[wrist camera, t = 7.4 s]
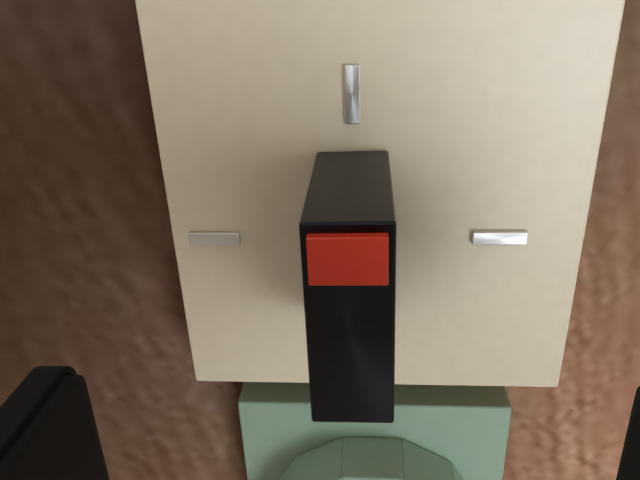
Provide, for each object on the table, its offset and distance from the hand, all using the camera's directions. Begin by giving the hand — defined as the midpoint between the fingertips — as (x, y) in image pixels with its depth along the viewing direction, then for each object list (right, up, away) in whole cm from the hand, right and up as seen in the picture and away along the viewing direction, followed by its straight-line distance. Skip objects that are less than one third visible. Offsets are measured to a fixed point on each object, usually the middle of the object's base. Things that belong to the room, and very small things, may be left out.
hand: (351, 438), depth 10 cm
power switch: (+1, -6, +13) cm, 14 cm away
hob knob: (0, +3, +6) cm, 7 cm away
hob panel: (+1, +6, +7) cm, 9 cm away
